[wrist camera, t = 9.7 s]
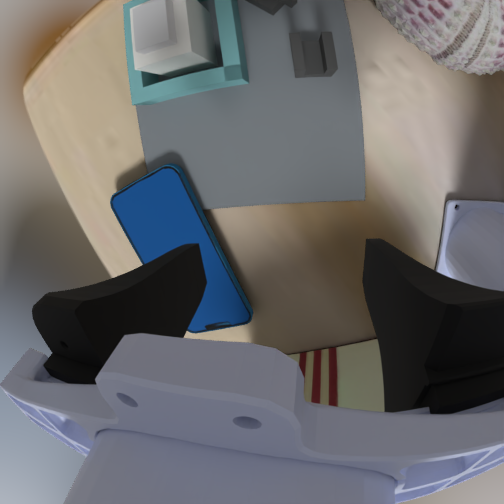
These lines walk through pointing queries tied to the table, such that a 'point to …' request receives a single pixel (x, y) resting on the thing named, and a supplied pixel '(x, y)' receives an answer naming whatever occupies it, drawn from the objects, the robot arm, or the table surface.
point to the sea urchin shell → (452, 31)
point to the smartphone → (181, 241)
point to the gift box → (344, 376)
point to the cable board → (260, 107)
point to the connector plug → (172, 37)
